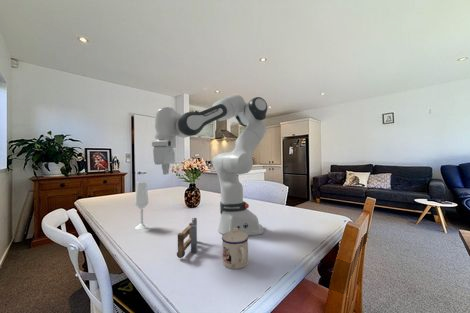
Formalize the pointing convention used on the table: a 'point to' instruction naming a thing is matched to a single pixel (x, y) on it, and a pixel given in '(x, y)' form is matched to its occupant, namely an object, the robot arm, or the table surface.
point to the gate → (181, 244)
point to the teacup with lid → (235, 249)
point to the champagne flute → (141, 201)
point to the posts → (194, 236)
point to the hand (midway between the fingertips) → (165, 174)
